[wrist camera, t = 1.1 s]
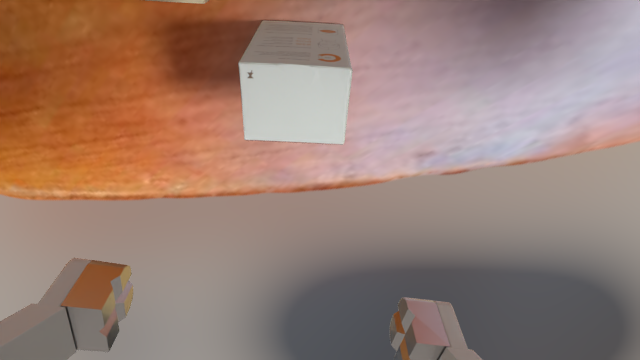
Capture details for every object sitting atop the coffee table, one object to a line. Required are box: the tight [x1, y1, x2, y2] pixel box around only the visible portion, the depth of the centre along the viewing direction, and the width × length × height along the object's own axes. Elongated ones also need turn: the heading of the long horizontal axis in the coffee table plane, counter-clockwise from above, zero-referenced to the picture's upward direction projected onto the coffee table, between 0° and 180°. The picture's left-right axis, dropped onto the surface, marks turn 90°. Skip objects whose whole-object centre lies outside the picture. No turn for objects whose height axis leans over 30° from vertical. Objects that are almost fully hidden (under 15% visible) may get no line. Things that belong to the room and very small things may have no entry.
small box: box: [238, 20, 352, 145], centre depth 34 cm, size 8×6×13 cm
